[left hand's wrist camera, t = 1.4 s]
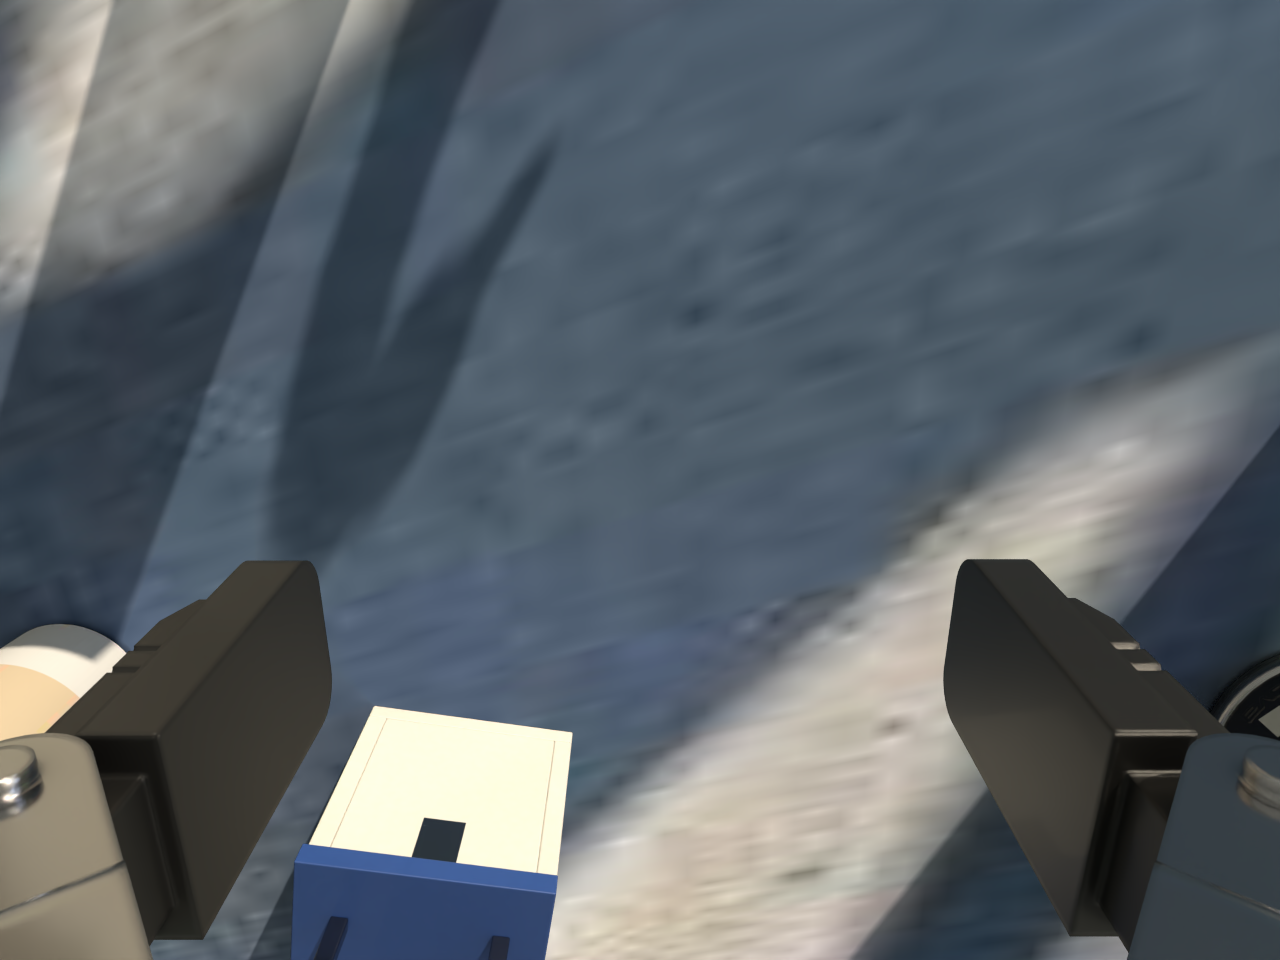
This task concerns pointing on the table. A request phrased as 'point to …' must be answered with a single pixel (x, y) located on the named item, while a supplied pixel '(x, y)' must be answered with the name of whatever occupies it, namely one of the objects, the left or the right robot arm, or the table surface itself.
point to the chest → (452, 792)
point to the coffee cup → (49, 675)
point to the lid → (415, 908)
